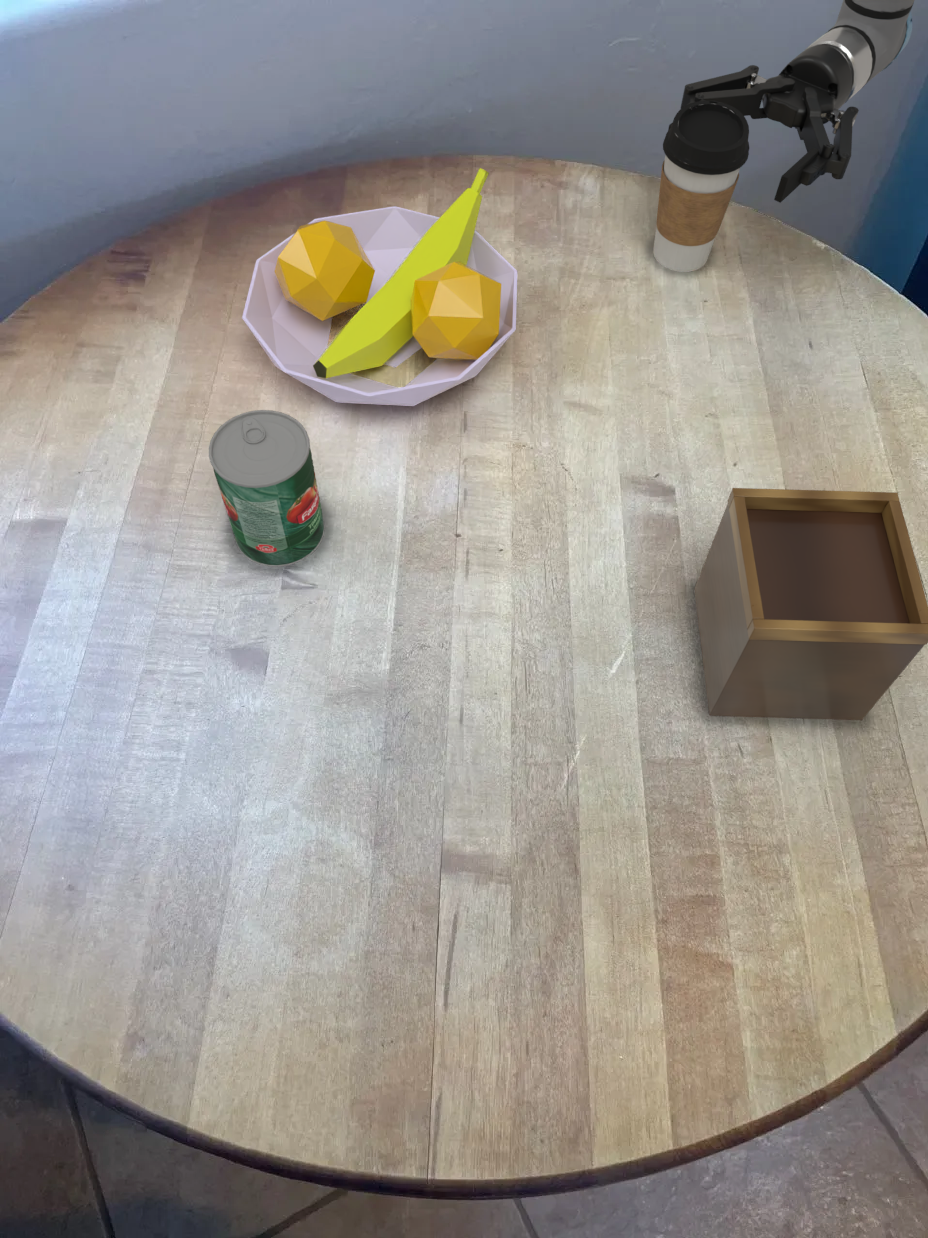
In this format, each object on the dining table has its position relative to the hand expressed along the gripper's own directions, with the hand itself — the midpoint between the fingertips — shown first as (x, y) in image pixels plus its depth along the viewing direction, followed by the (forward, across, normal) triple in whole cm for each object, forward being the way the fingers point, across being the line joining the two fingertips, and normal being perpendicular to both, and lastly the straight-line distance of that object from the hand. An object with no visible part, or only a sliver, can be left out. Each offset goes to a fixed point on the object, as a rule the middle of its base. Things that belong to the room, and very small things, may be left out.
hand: (723, 163), depth 101 cm
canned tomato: (+60, +6, -8) cm, 61 cm away
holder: (+43, -34, -8) cm, 55 cm away
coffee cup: (+6, 0, -8) cm, 10 cm away
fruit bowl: (+35, +15, -8) cm, 39 cm away
